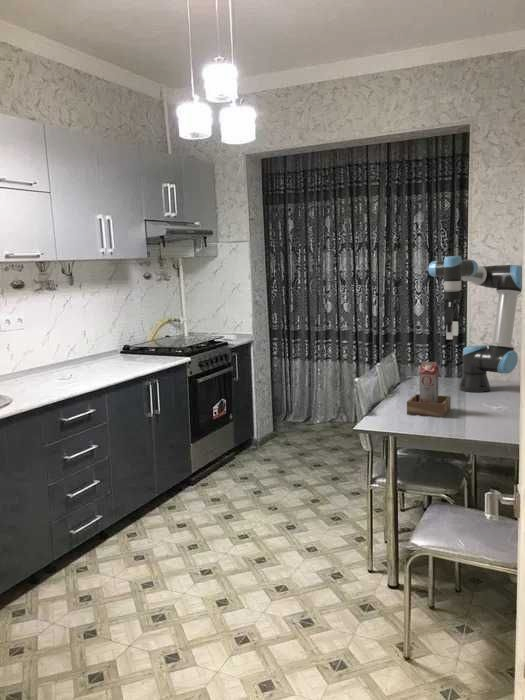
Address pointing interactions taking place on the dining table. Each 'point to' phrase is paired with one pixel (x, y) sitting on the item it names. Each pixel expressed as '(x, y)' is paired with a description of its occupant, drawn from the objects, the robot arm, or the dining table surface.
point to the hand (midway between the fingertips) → (452, 337)
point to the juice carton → (429, 382)
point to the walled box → (429, 406)
